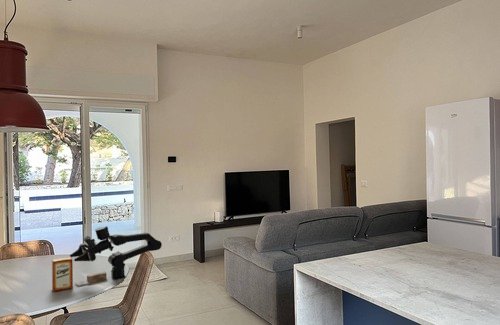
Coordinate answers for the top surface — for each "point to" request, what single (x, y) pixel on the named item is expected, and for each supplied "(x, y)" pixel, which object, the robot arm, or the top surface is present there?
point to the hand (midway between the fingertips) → (72, 258)
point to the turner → (92, 279)
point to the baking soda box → (62, 274)
